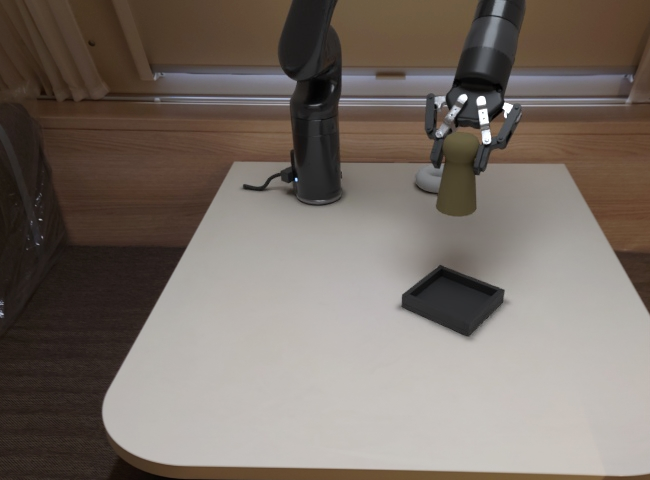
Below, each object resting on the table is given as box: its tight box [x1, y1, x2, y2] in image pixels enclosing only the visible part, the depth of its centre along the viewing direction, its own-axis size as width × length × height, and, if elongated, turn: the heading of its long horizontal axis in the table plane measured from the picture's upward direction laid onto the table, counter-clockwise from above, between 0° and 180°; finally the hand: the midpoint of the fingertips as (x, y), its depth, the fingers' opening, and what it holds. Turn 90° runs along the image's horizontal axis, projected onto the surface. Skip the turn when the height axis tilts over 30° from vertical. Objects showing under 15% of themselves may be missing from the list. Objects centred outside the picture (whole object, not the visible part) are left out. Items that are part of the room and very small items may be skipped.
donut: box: [414, 164, 444, 194], centre depth 122 cm, size 10×4×10 cm
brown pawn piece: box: [435, 131, 481, 217], centre depth 82 cm, size 6×6×11 cm
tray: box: [401, 264, 506, 337], centre depth 87 cm, size 12×11×2 cm
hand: (456, 169), depth 80 cm, fingers closed on brown pawn piece, 5 cm apart
